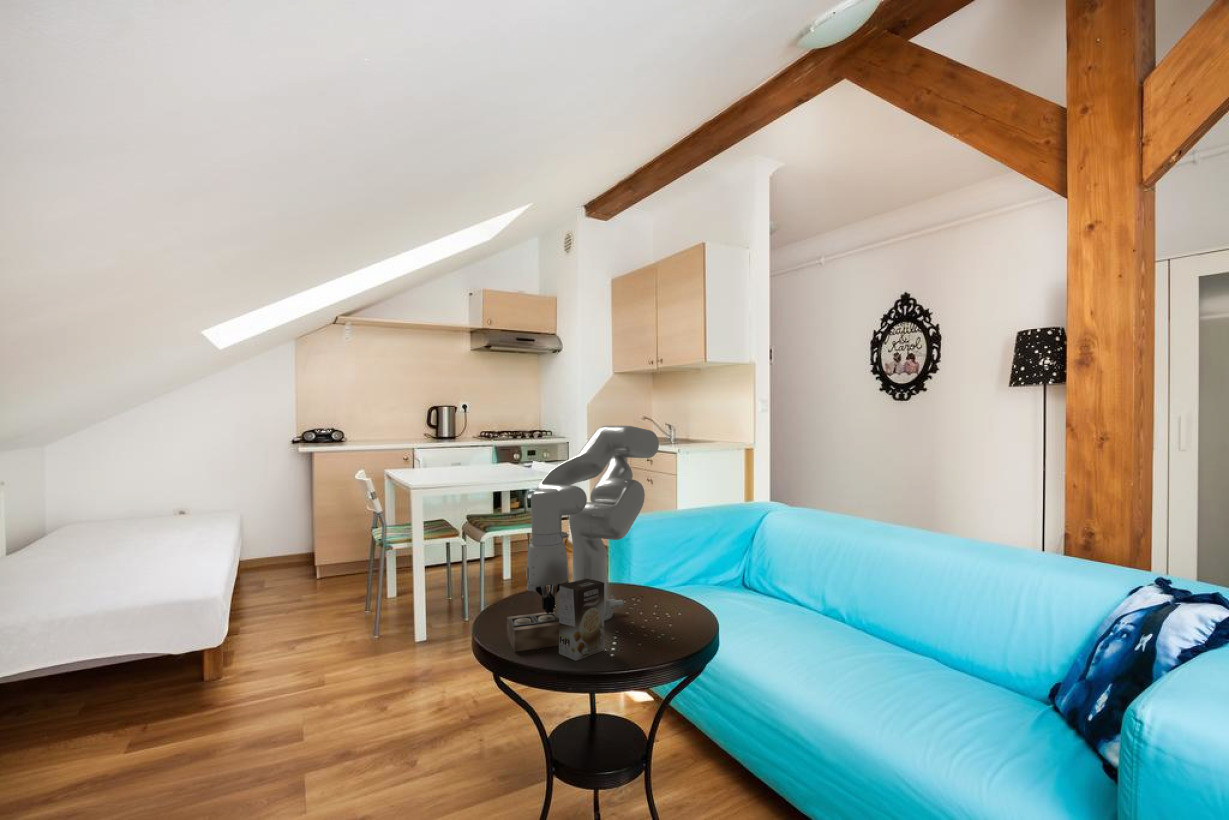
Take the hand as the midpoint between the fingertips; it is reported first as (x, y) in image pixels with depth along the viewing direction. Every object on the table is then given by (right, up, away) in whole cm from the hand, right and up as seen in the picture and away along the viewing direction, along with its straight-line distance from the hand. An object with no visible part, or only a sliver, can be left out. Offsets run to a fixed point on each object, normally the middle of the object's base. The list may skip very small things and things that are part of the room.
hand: (548, 611), depth 143 cm
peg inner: (0, -6, -1) cm, 6 cm away
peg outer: (-6, -6, -3) cm, 9 cm away
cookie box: (+9, -7, -9) cm, 14 cm away
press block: (-3, -7, -2) cm, 8 cm away
